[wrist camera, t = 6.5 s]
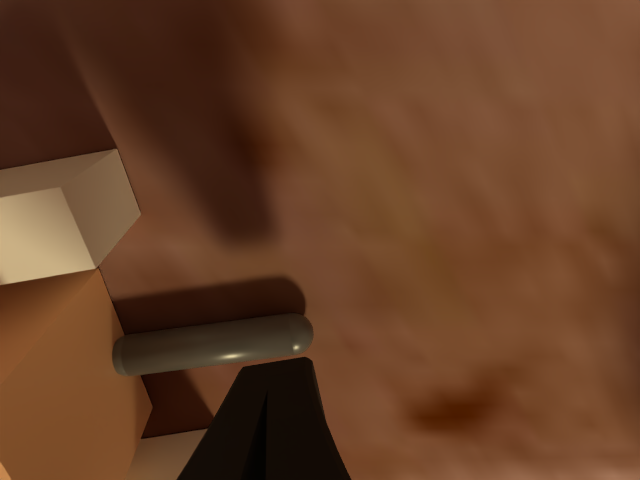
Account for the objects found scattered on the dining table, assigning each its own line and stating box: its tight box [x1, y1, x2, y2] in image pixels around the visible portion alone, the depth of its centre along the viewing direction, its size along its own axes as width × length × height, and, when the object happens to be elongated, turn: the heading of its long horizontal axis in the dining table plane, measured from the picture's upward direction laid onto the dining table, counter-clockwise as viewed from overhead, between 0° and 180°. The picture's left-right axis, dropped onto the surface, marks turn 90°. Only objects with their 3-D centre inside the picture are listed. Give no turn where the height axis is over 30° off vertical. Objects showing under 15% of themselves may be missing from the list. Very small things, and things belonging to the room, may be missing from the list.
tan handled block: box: [0, 268, 313, 480], centre depth 10 cm, size 4×9×4 cm, turn 97°
